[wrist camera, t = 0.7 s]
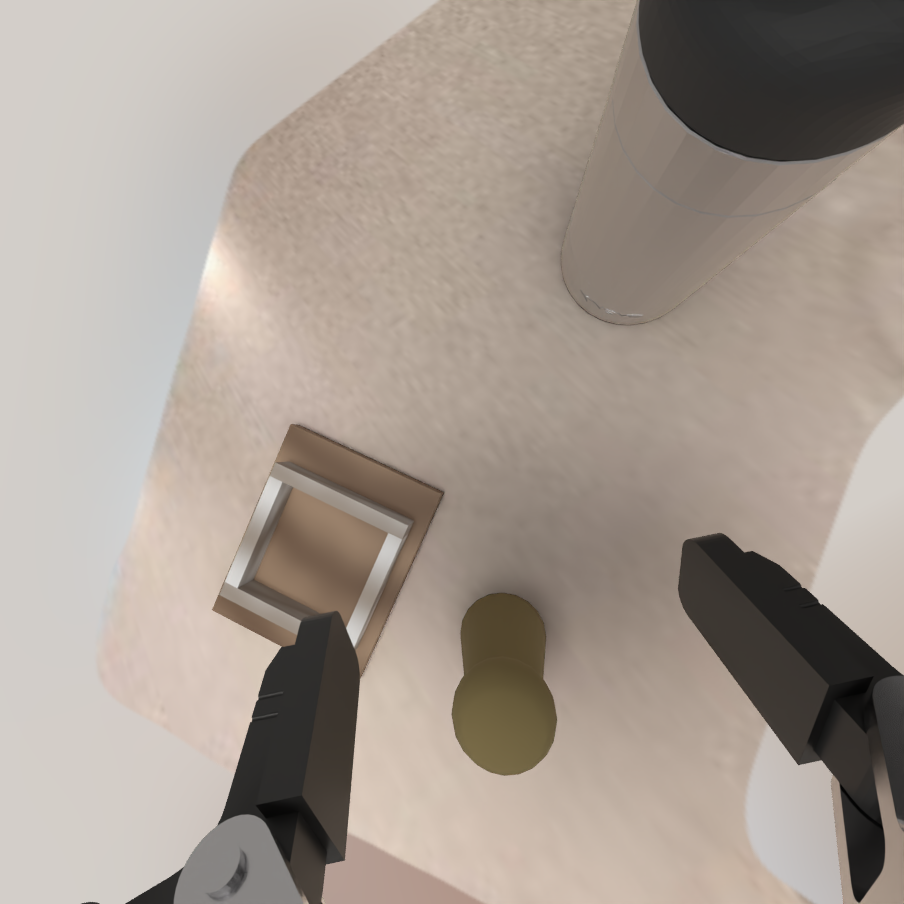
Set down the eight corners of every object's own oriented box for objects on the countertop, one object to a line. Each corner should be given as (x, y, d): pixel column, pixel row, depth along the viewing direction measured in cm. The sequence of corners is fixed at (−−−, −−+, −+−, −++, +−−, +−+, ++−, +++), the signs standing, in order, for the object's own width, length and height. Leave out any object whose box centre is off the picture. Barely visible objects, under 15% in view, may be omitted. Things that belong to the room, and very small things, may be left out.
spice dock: (298, 424, 33) (276, 422, 30) (443, 492, 32) (437, 497, 28) (222, 604, 34) (193, 620, 30) (361, 676, 32) (346, 701, 29)
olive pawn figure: (449, 606, 32) (422, 690, 21) (529, 582, 31) (545, 655, 20) (476, 687, 32) (463, 814, 21) (557, 664, 31) (589, 783, 20)
